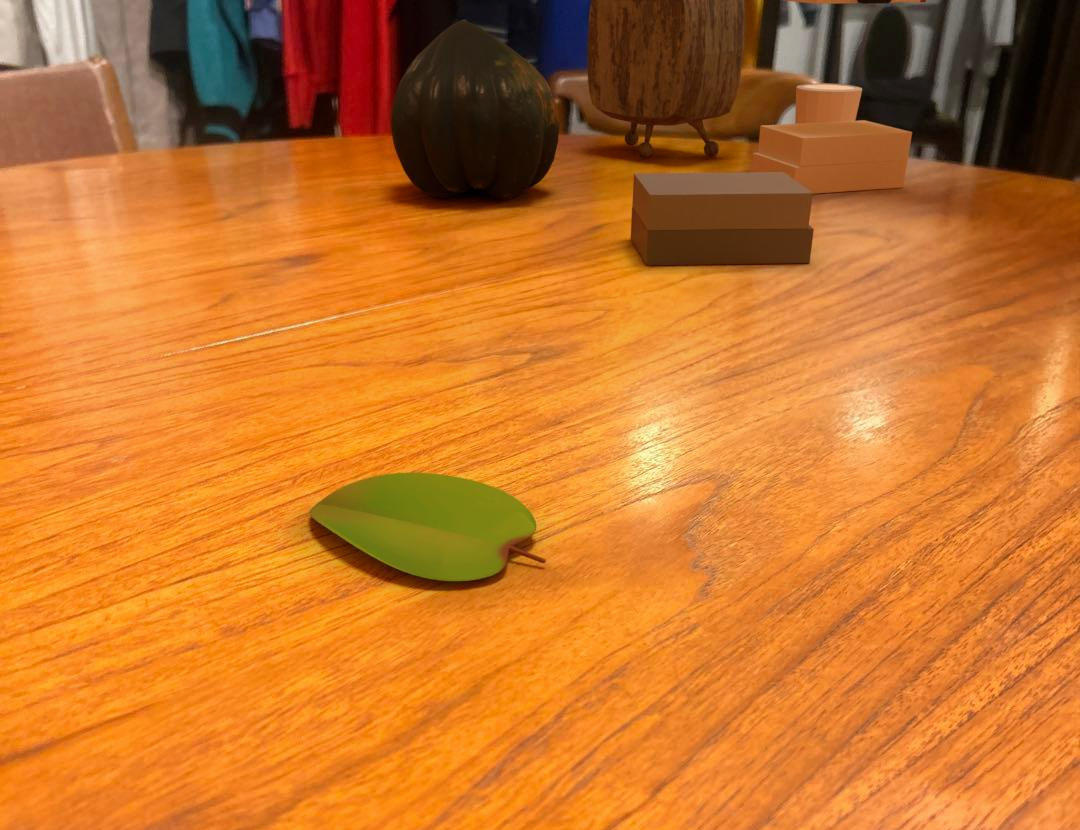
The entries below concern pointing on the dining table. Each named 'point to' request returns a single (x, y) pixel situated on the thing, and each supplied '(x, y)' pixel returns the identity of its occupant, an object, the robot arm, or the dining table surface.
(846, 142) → the orange lidded box
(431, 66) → the squash
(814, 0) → the tan box
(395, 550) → the decorative leaf
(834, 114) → the tapered cup
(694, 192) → the brown box
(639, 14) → the tabletop clock
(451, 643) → the dining table surface
